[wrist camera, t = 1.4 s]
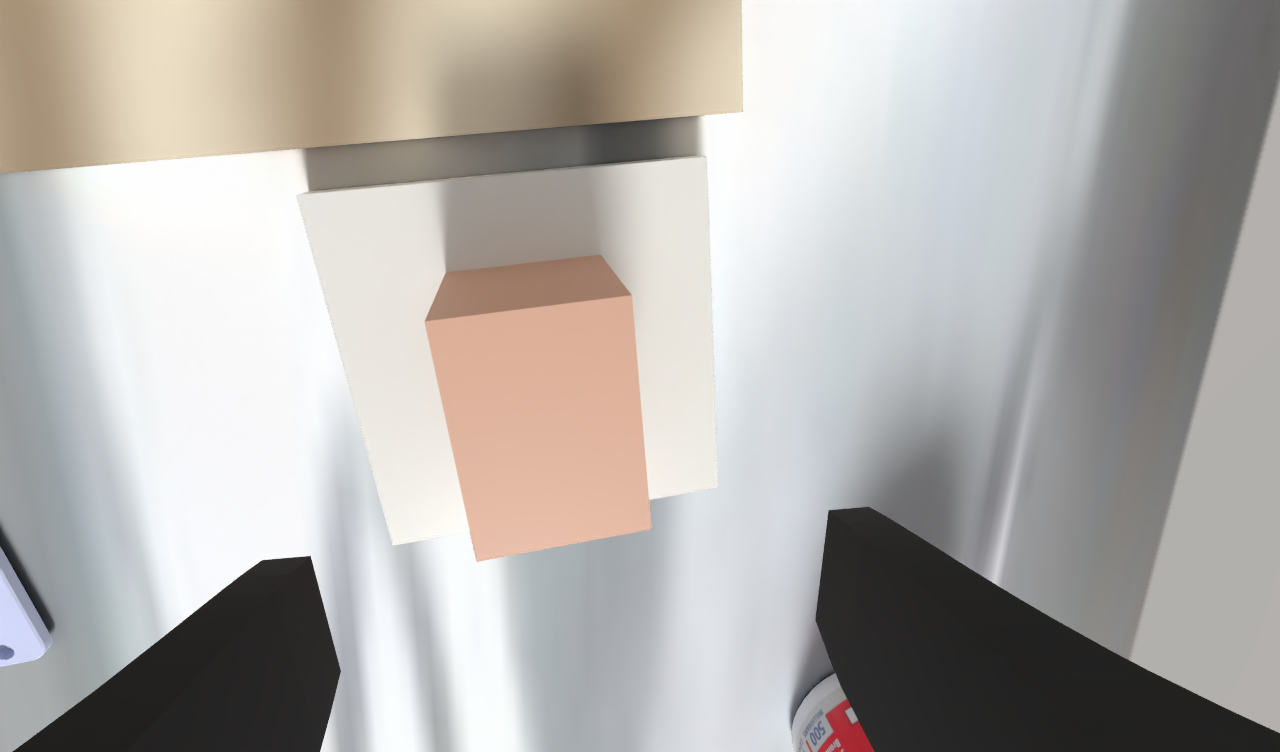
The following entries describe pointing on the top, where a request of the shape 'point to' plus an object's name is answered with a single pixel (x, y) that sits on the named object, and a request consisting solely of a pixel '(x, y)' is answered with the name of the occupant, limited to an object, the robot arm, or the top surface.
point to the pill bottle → (828, 722)
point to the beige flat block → (344, 72)
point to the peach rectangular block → (541, 403)
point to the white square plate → (499, 236)
